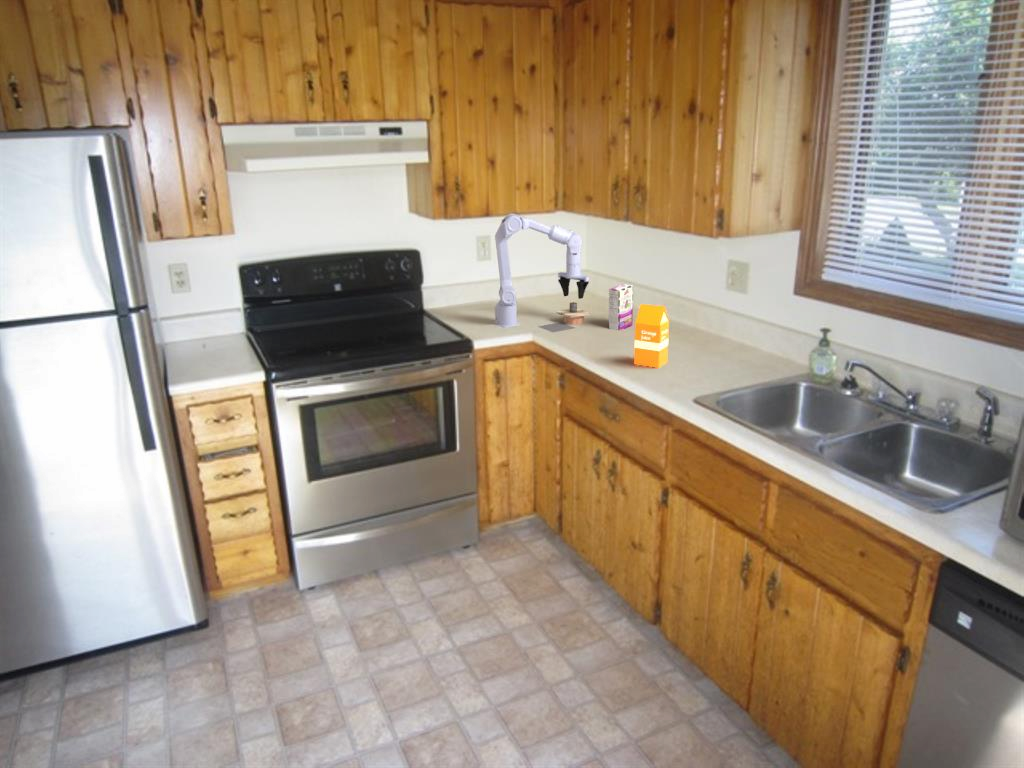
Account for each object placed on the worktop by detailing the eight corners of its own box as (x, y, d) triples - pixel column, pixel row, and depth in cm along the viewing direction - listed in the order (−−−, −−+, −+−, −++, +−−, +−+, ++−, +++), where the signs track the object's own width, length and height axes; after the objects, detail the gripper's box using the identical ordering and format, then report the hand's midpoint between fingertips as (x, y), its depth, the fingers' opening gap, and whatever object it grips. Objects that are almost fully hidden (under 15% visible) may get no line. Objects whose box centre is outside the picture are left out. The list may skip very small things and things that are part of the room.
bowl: (560, 322, 304) (560, 313, 302) (575, 319, 308) (576, 310, 306) (571, 326, 297) (571, 316, 296) (587, 323, 301) (587, 314, 300)
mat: (537, 327, 297) (537, 326, 296) (560, 323, 302) (560, 322, 302) (553, 333, 288) (553, 332, 288) (576, 328, 293) (576, 327, 293)
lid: (556, 313, 302) (556, 302, 301) (575, 309, 307) (575, 299, 306) (570, 317, 294) (570, 307, 293) (590, 314, 299) (590, 303, 298)
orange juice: (643, 358, 253) (645, 301, 247) (667, 362, 249) (670, 304, 242) (633, 364, 247) (635, 306, 241) (658, 368, 243) (660, 309, 236)
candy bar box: (621, 323, 299) (622, 283, 294) (632, 325, 296) (634, 284, 291) (607, 329, 291) (608, 288, 286) (618, 331, 288) (619, 289, 283)
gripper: (594, 264, 294) (593, 297, 298) (565, 260, 303) (565, 293, 308) (583, 266, 289) (582, 300, 293) (554, 262, 298) (554, 296, 303)
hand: (573, 297), depth 300 cm, fingers open, 7 cm apart
